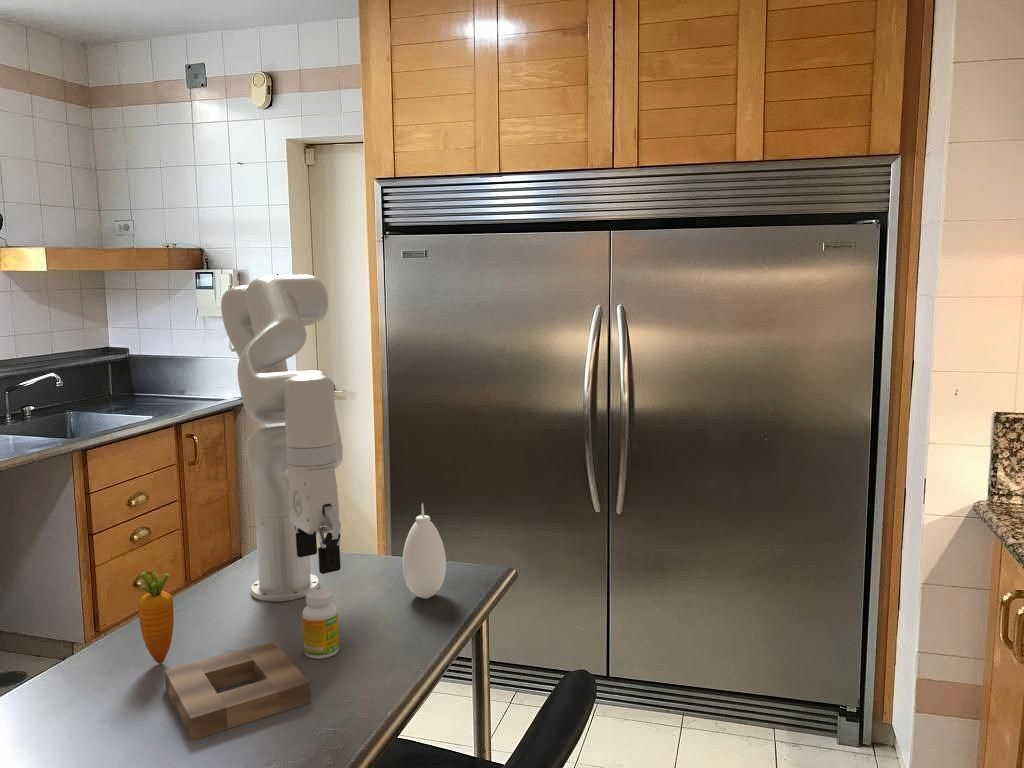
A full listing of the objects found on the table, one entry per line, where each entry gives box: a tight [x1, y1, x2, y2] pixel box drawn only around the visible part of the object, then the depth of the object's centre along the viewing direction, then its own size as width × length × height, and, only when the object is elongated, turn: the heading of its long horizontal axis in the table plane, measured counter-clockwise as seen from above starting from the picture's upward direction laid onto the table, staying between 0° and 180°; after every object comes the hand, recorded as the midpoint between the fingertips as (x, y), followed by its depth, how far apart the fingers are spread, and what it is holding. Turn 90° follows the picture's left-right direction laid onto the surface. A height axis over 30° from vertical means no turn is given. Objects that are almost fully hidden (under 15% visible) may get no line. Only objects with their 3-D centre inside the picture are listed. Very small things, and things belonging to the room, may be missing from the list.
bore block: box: [164, 640, 312, 741], centre depth 116 cm, size 16×16×3 cm
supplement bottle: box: [302, 588, 340, 660], centre depth 129 cm, size 5×5×10 cm
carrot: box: [137, 571, 175, 665], centre depth 126 cm, size 5×5×15 cm
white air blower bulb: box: [402, 502, 447, 599], centre depth 150 cm, size 8×8×18 cm
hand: (318, 563), depth 127 cm, fingers open, 9 cm apart
